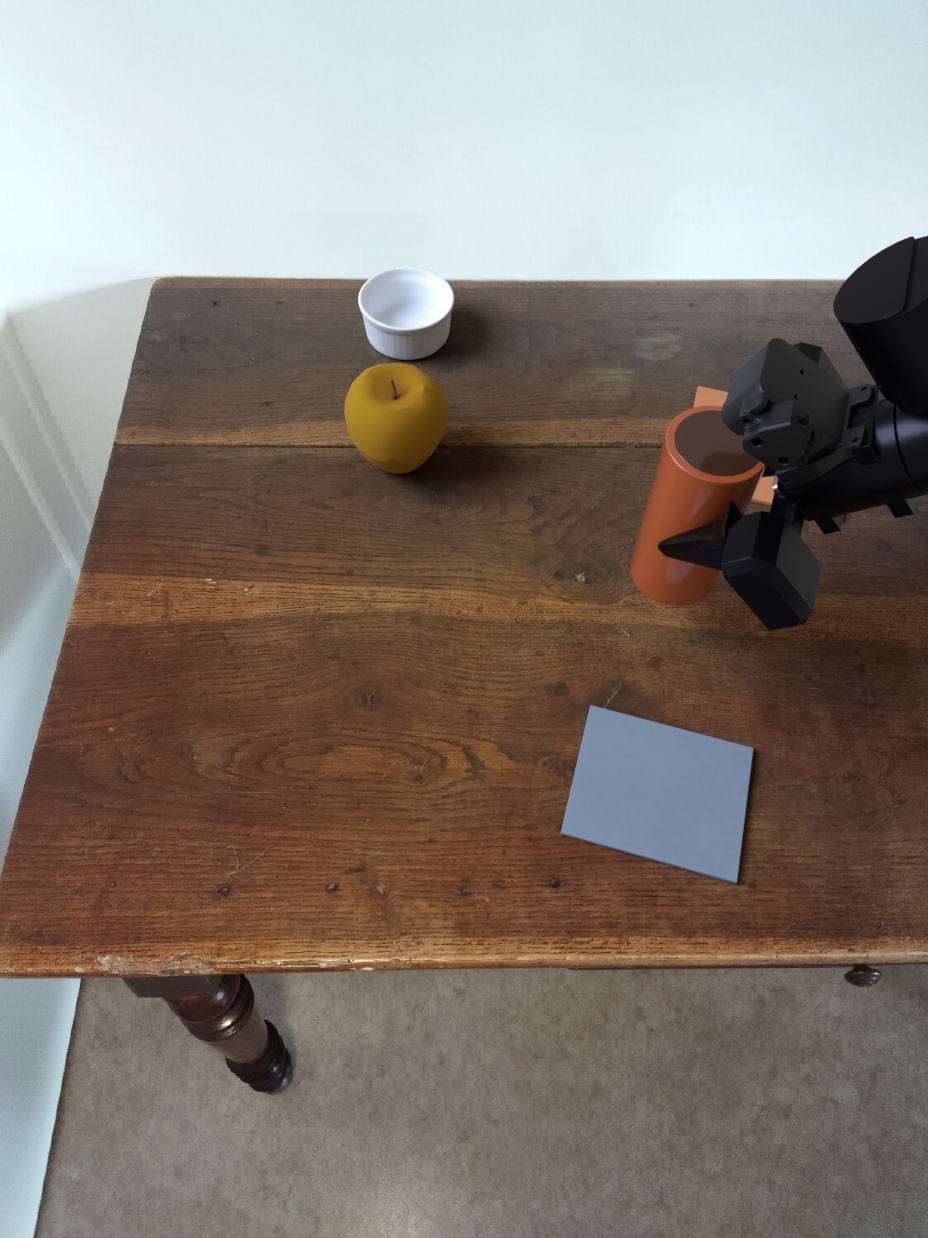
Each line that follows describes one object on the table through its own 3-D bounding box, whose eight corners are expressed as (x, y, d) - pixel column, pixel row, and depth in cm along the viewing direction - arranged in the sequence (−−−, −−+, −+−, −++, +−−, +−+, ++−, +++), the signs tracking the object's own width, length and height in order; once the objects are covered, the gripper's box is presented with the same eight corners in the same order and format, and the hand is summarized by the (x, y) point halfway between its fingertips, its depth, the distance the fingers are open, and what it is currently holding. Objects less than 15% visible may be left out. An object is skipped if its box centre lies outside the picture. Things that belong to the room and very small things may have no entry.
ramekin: (343, 330, 85) (338, 293, 82) (412, 290, 89) (411, 252, 85) (403, 380, 82) (401, 343, 78) (472, 336, 85) (474, 299, 82)
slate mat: (752, 750, 64) (753, 747, 64) (735, 884, 59) (737, 882, 59) (589, 707, 65) (590, 704, 65) (560, 834, 60) (560, 832, 60)
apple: (455, 427, 79) (457, 351, 72) (437, 501, 75) (437, 428, 67) (362, 413, 80) (354, 336, 72) (339, 485, 76) (328, 411, 68)
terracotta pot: (731, 566, 64) (790, 437, 53) (684, 621, 62) (735, 499, 50) (660, 522, 66) (702, 388, 55) (612, 574, 64) (645, 446, 52)
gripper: (872, 224, 49) (639, 334, 60) (825, 469, 39) (560, 544, 51) (949, 369, 54) (722, 444, 65) (924, 613, 45) (665, 652, 56)
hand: (672, 512), depth 59 cm, fingers closed on terracotta pot, 6 cm apart
